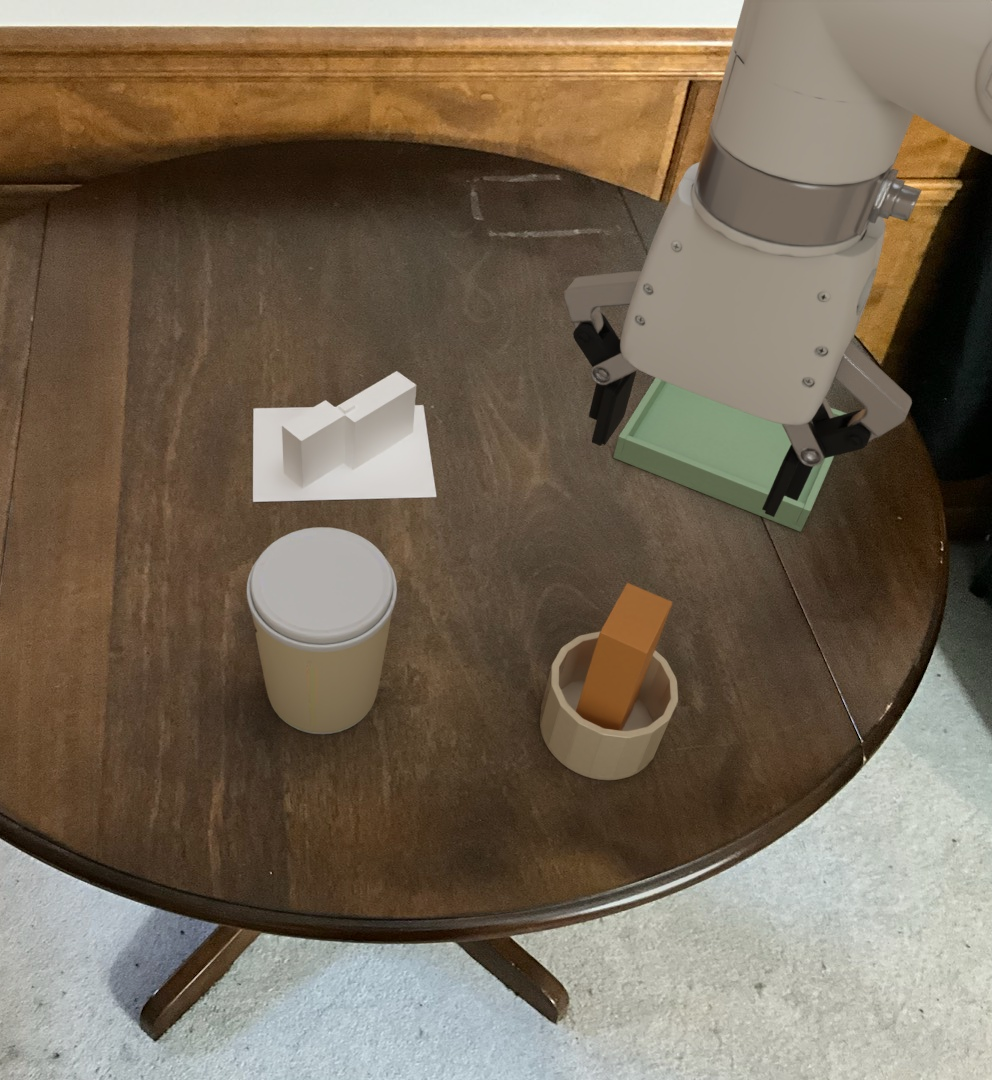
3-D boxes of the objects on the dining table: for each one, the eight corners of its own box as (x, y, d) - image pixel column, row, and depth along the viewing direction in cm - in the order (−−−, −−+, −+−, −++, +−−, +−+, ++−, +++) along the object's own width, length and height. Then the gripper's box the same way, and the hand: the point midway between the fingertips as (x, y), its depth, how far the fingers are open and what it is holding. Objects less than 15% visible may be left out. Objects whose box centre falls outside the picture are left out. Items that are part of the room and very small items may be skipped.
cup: (675, 709, 78) (695, 664, 74) (633, 801, 73) (651, 758, 69) (567, 660, 80) (580, 613, 76) (520, 745, 75) (531, 700, 71)
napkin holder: (423, 403, 98) (427, 352, 94) (438, 497, 90) (444, 446, 86) (251, 408, 96) (248, 356, 92) (252, 503, 89) (249, 452, 85)
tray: (841, 436, 97) (851, 414, 95) (800, 532, 89) (810, 511, 87) (666, 371, 102) (672, 350, 100) (612, 457, 94) (618, 436, 92)
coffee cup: (311, 613, 82) (309, 501, 73) (415, 677, 79) (426, 568, 70) (227, 698, 77) (214, 589, 68) (335, 770, 73) (336, 666, 64)
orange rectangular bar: (632, 709, 77) (673, 601, 68) (608, 758, 74) (647, 653, 65) (592, 690, 78) (627, 582, 69) (567, 738, 75) (599, 632, 66)
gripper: (1013, 201, 47) (865, 484, 60) (632, 87, 52) (572, 369, 65) (978, 290, 43) (827, 575, 55) (566, 156, 48) (515, 444, 61)
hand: (689, 463), depth 60 cm, fingers open, 9 cm apart
